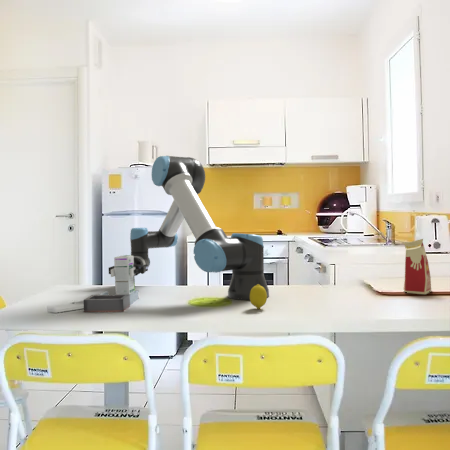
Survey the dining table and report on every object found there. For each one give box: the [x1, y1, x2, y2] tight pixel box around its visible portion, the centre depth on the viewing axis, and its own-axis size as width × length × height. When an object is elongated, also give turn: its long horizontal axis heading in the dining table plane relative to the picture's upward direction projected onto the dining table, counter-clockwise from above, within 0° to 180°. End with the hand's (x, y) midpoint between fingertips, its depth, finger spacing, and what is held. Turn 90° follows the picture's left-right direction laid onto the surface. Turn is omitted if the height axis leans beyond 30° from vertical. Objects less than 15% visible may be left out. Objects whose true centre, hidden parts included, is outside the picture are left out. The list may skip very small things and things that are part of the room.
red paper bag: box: [402, 238, 432, 295], centre depth 184 cm, size 9×9×20 cm
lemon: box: [249, 284, 268, 310], centre depth 158 cm, size 6×6×8 cm
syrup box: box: [113, 254, 136, 295], centre depth 188 cm, size 6×6×14 cm
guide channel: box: [98, 290, 139, 306], centre depth 175 cm, size 14×12×3 cm
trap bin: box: [83, 294, 131, 313], centre depth 163 cm, size 9×13×4 cm
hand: (121, 273), depth 183 cm, fingers closed on syrup box, 6 cm apart
